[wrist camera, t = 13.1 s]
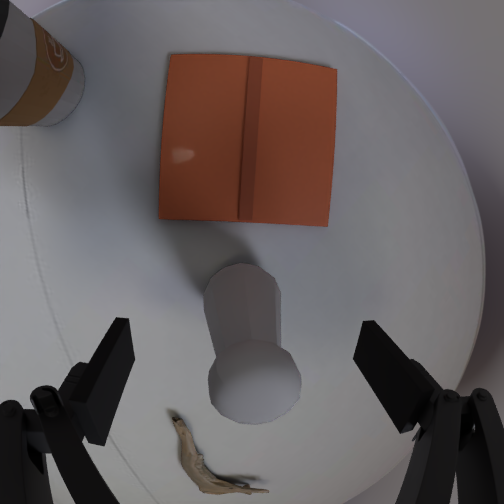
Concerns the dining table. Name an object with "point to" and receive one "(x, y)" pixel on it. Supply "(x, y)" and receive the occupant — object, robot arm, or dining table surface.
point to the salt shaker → (248, 347)
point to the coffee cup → (34, 73)
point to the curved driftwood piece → (197, 469)
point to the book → (247, 140)
